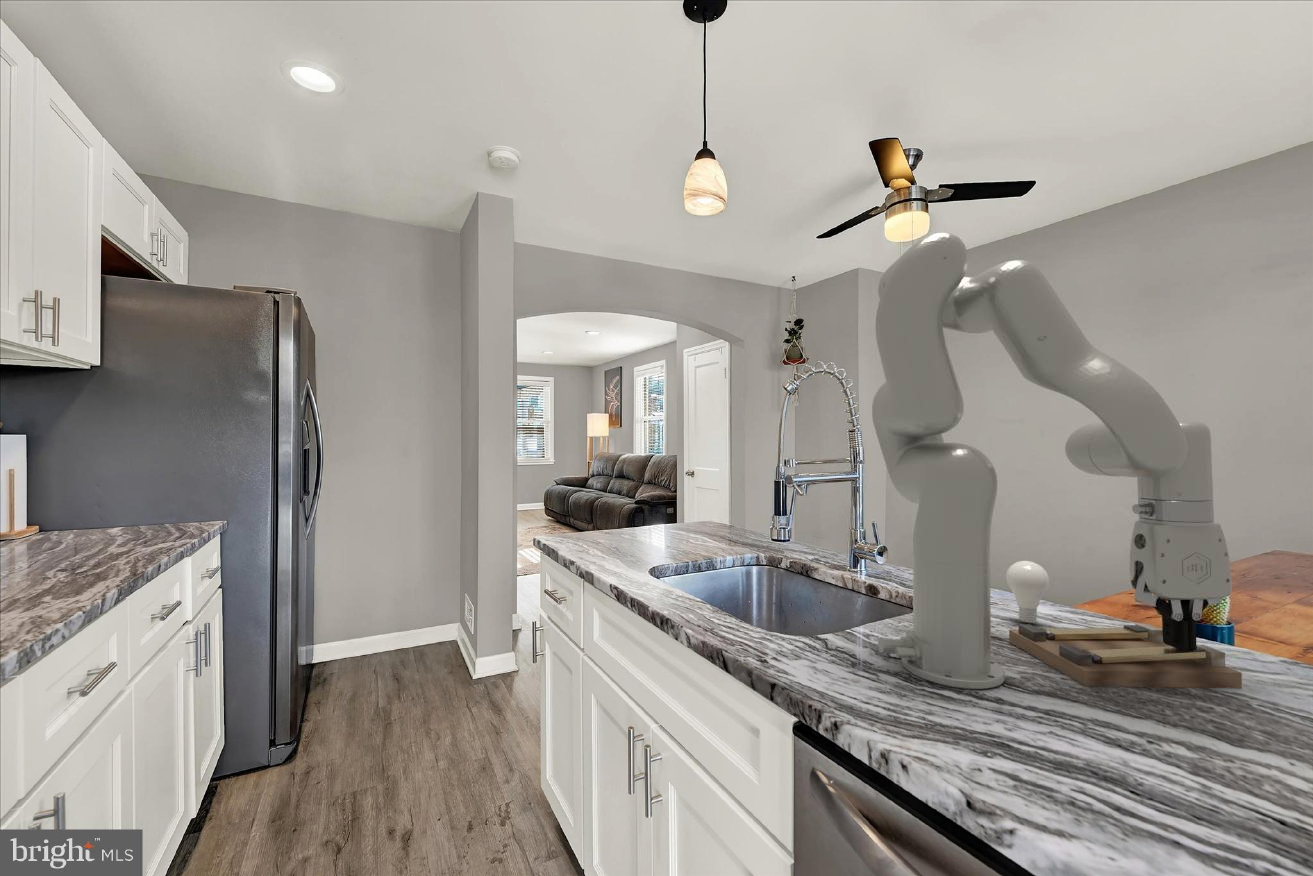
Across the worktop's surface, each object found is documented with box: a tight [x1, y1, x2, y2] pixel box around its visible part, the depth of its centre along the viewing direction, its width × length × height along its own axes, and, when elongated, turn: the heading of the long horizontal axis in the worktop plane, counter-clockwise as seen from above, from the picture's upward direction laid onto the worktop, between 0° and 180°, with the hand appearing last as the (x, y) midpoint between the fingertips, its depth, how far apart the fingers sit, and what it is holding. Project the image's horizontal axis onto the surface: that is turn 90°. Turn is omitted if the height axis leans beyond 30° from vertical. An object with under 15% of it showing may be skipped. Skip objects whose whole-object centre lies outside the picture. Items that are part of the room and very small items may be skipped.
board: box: [1008, 623, 1243, 689], centre depth 80 cm, size 20×16×4 cm
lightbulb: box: [1005, 560, 1051, 625], centre depth 97 cm, size 6×6×11 cm
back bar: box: [1038, 624, 1148, 640], centre depth 84 cm, size 15×2×1 cm, turn 89°
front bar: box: [1083, 646, 1206, 663], centre depth 75 cm, size 15×2×1 cm, turn 89°
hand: (1179, 646), depth 75 cm, fingers closed
